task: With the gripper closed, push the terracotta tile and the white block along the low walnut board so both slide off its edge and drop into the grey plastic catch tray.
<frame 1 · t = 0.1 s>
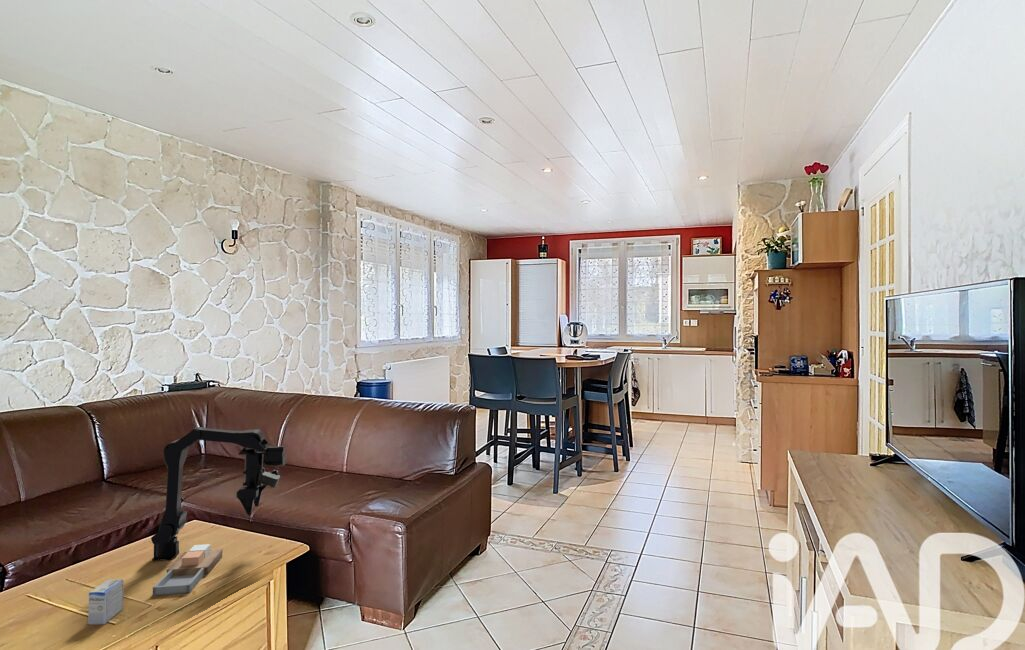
hand: (253, 510, 196), 15 cm above the table, fingers open, 9 cm apart
walnut board: (195, 566, 184), on the table
white block: (199, 554, 187), point 2 cm above the table, touching walnut board
medicine box: (106, 617, 152), on the table
catch tray: (179, 585, 171), on the table
tile terracotta: (193, 562, 182), point 2 cm above the table, touching walnut board
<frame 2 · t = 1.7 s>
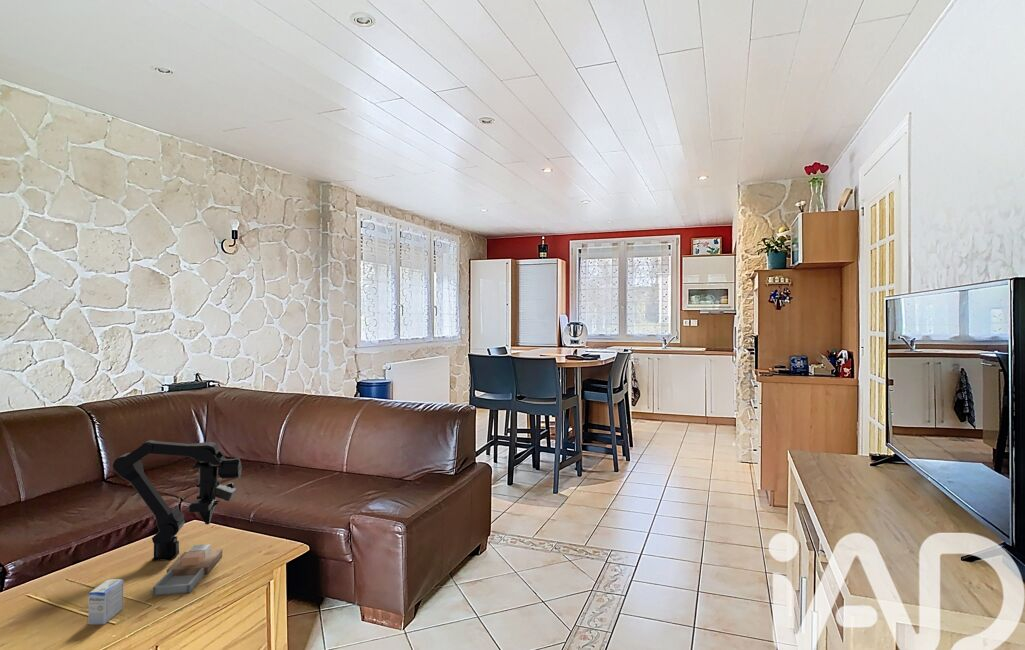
hand: (207, 524, 195), 10 cm above the table, fingers closed
nothing on the table moved.
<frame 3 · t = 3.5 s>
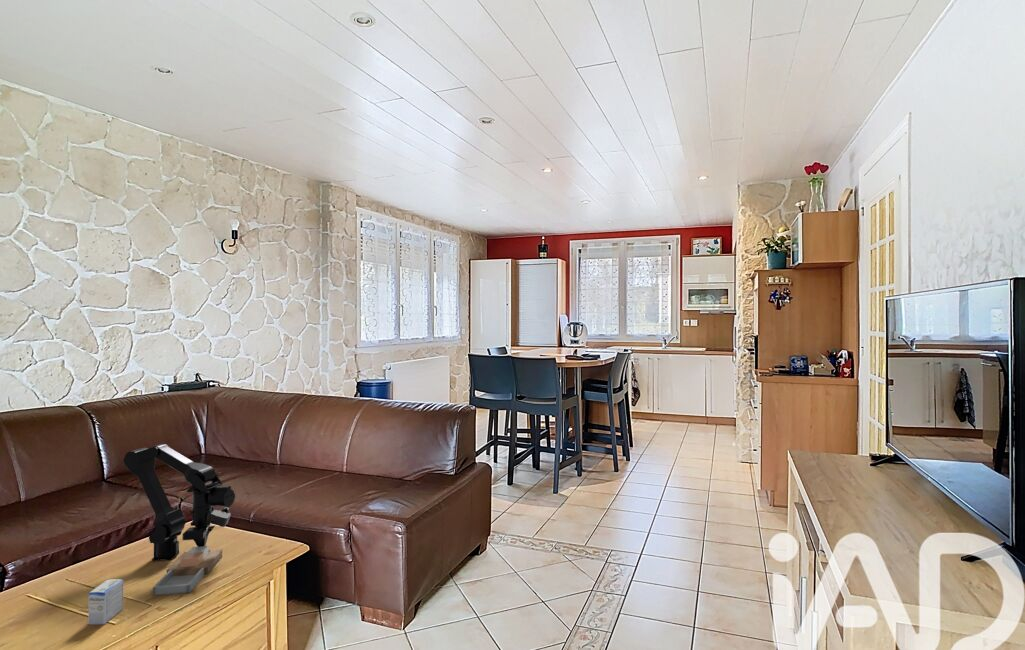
hand: (202, 550, 189), 3 cm above the table, fingers closed
white block: (197, 557, 186), point 3 cm above the table, touching gripper, tile terracotta
tile terracotta: (192, 563, 181), point 3 cm above the table, touching white block
everything else where it was.
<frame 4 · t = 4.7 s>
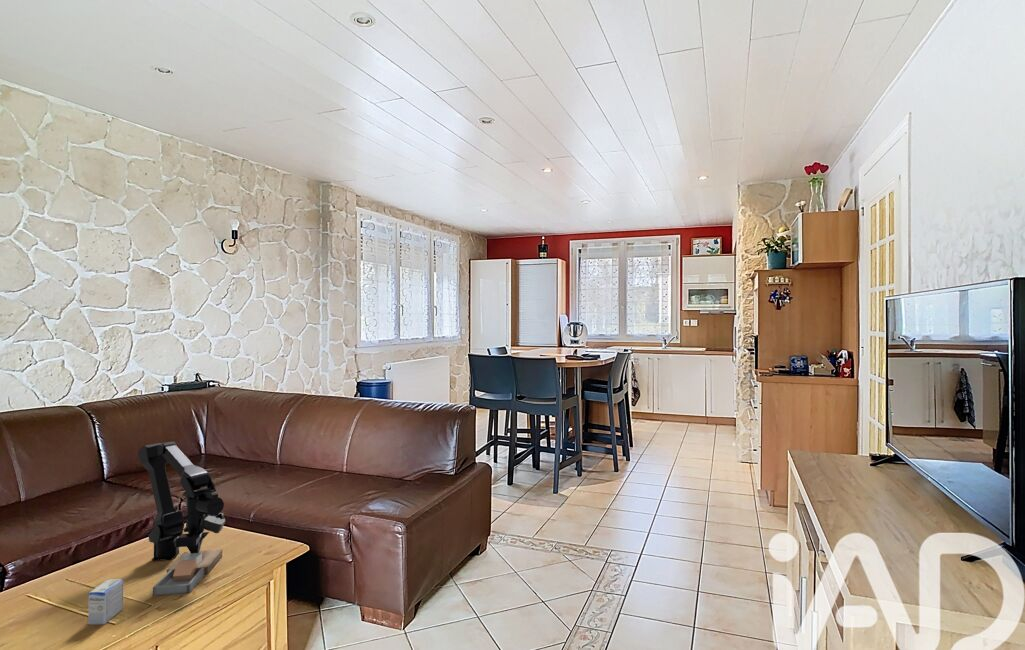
hand: (195, 557, 184), 3 cm above the table, fingers closed
white block: (190, 564, 180), point 2 cm above the table, touching gripper, walnut board
tile terracotta: (186, 572, 176), point 2 cm above the table, tilted 35°, touching catch tray
everything else where it was.
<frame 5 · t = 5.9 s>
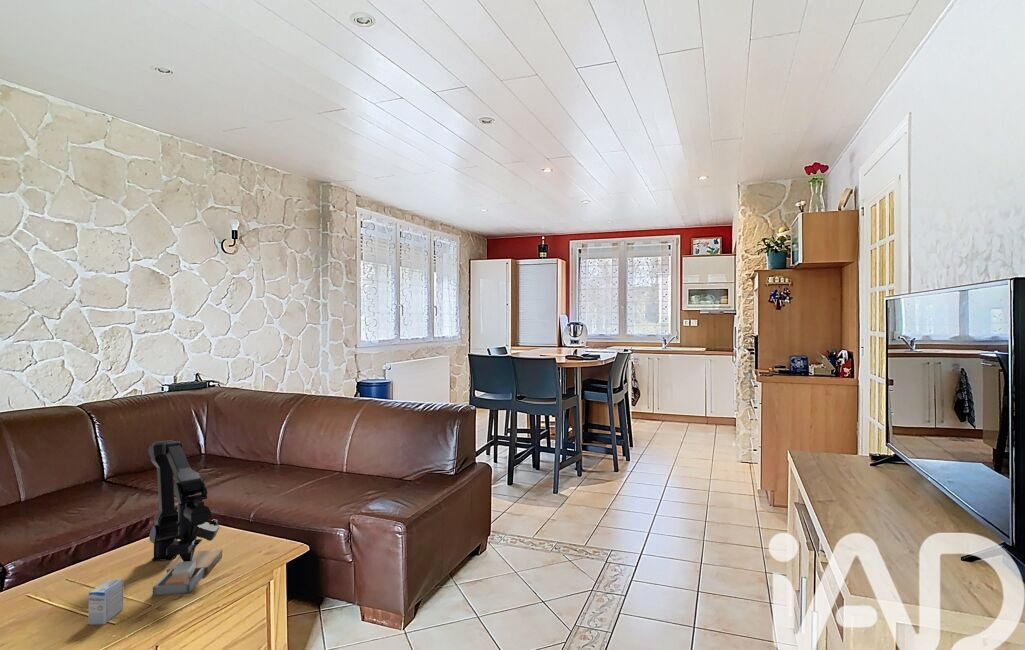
hand: (188, 565, 178), 3 cm above the table, fingers closed
white block: (184, 573, 175), point 2 cm above the table, tilted 15°, touching gripper, tile terracotta, walnut board
tile terracotta: (177, 586, 169), resting on catch tray, touching white block
everything else where it was.
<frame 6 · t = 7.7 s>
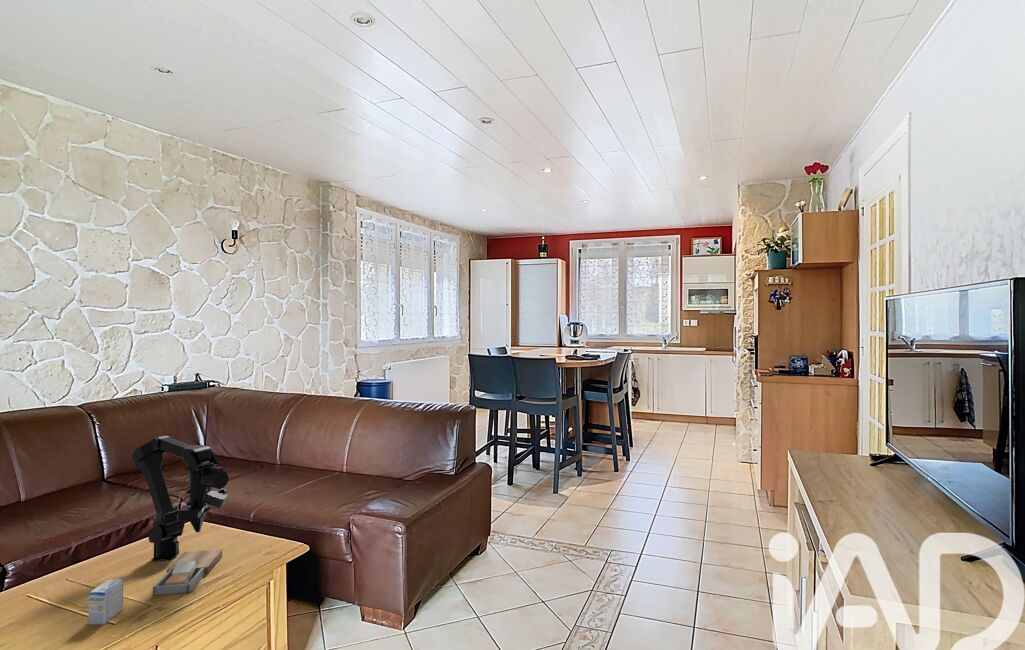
hand: (198, 531, 186), 11 cm above the table, fingers closed
white block: (184, 573, 175), point 2 cm above the table, tilted 15°, touching tile terracotta, walnut board
everything else where it was.
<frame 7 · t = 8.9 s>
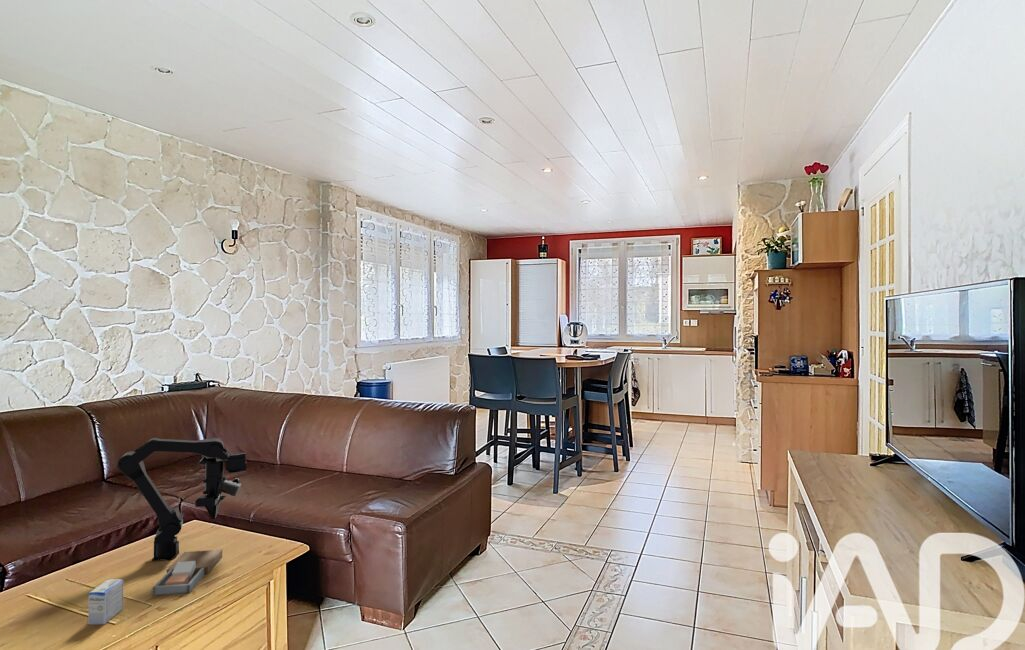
hand: (213, 518, 198), 11 cm above the table, fingers closed
nothing on the table moved.
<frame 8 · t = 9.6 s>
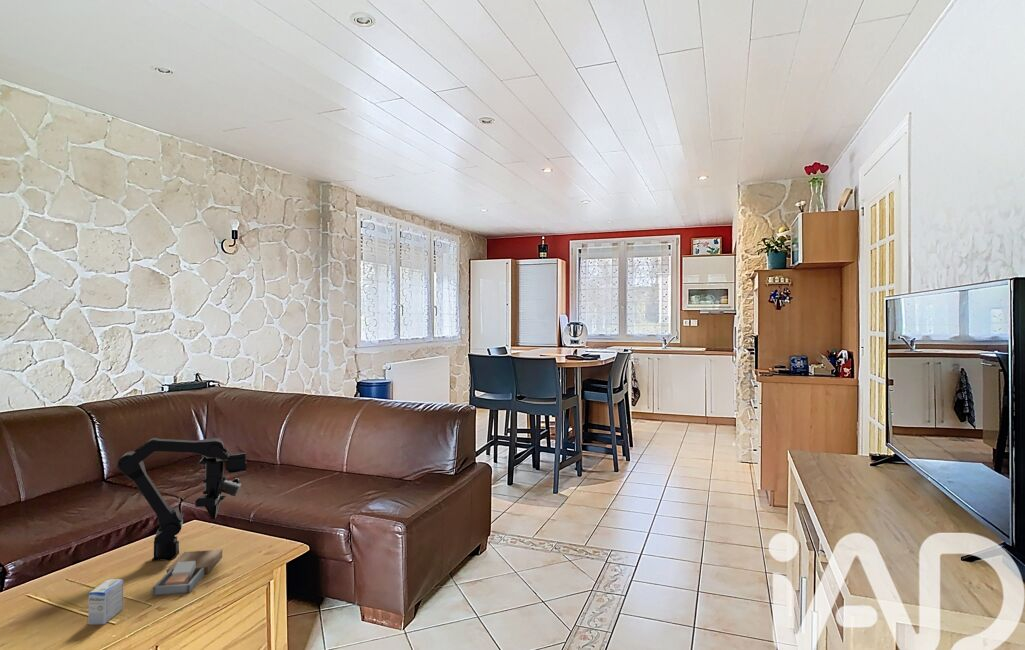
hand: (213, 518, 198), 11 cm above the table, fingers closed
nothing on the table moved.
at the end: tile terracotta inside the target area on the catch tray (1.6 cm from its centre), point 0.3 cm above the catch tray's base; white block inside the target area on the catch tray (3.7 cm from its centre), point 1.9 cm above the catch tray's base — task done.
